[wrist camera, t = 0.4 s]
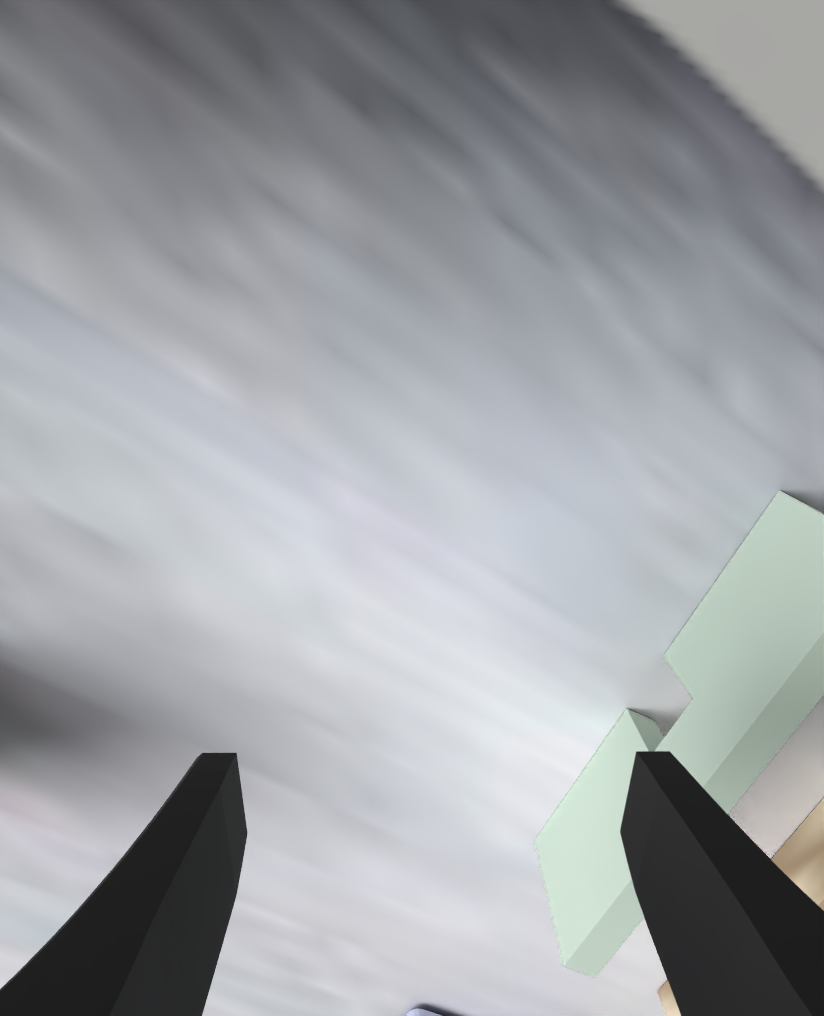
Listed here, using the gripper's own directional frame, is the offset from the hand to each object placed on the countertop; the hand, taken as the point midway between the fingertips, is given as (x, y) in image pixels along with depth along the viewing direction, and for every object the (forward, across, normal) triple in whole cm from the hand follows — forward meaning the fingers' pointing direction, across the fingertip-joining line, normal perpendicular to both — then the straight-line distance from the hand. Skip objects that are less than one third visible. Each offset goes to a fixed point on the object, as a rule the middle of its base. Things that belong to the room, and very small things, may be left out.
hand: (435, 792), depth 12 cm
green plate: (+10, -9, +6) cm, 14 cm away
